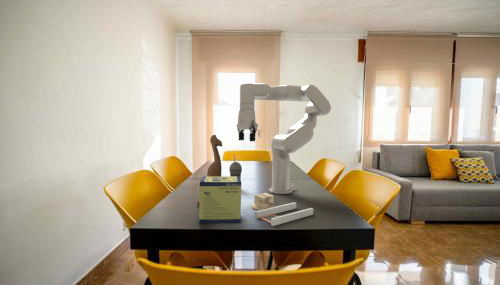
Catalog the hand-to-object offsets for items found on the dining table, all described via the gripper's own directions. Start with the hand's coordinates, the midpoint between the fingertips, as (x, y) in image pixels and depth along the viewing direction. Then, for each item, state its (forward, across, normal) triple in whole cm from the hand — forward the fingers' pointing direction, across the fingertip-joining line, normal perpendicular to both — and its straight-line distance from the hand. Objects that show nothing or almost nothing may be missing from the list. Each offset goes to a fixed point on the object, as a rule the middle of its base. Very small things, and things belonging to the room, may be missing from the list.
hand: (246, 140), depth 133 cm
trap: (+28, +35, -12) cm, 47 cm away
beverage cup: (+28, -13, +2) cm, 31 cm away
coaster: (+28, +21, -6) cm, 36 cm away
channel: (+28, +35, -6) cm, 45 cm away
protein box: (+29, +23, -28) cm, 46 cm away
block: (+28, +21, -5) cm, 35 cm away
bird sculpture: (+29, +5, -22) cm, 36 cm away
